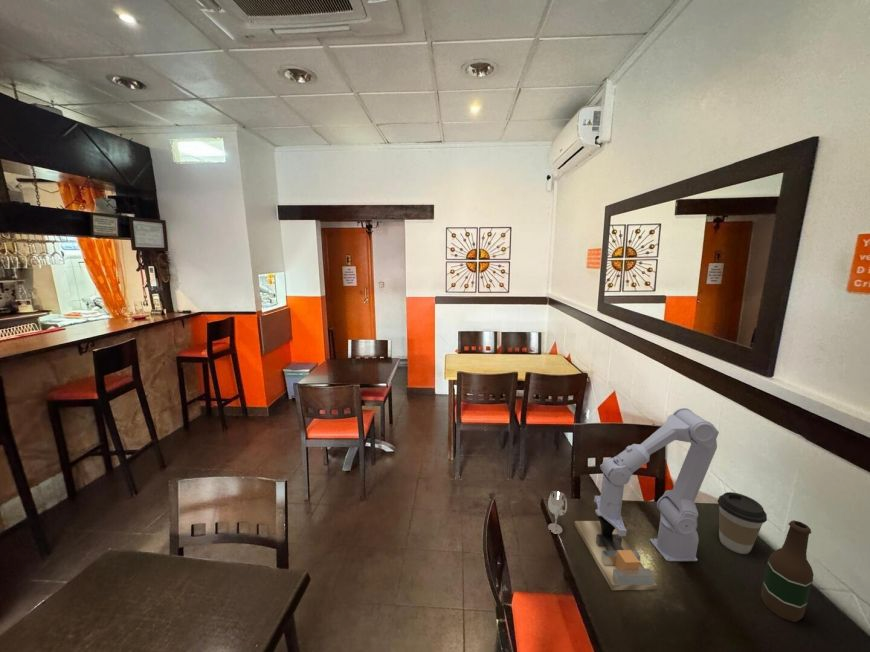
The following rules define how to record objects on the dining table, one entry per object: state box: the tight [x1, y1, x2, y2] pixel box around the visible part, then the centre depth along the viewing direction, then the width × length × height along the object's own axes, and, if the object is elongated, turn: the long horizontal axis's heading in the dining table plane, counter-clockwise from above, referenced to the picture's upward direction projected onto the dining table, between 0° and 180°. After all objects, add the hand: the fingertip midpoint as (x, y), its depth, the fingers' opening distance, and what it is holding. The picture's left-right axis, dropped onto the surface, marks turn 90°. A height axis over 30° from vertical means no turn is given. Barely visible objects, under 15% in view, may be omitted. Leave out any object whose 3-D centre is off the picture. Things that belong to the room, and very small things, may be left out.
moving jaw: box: [596, 534, 641, 565], centre depth 100 cm, size 10×8×3 cm
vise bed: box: [574, 520, 658, 591], centre depth 102 cm, size 12×23×2 cm, turn 2°
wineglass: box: [547, 490, 568, 535], centre depth 110 cm, size 6×6×12 cm
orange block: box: [615, 549, 641, 569], centre depth 94 cm, size 4×4×5 cm
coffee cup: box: [716, 491, 768, 555], centre depth 105 cm, size 11×11×15 cm
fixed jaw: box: [612, 568, 656, 585], centre depth 91 cm, size 10×2×3 cm, turn 92°
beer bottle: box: [760, 520, 814, 623], centre depth 84 cm, size 8×8×24 cm
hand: (606, 538), depth 104 cm, fingers closed
